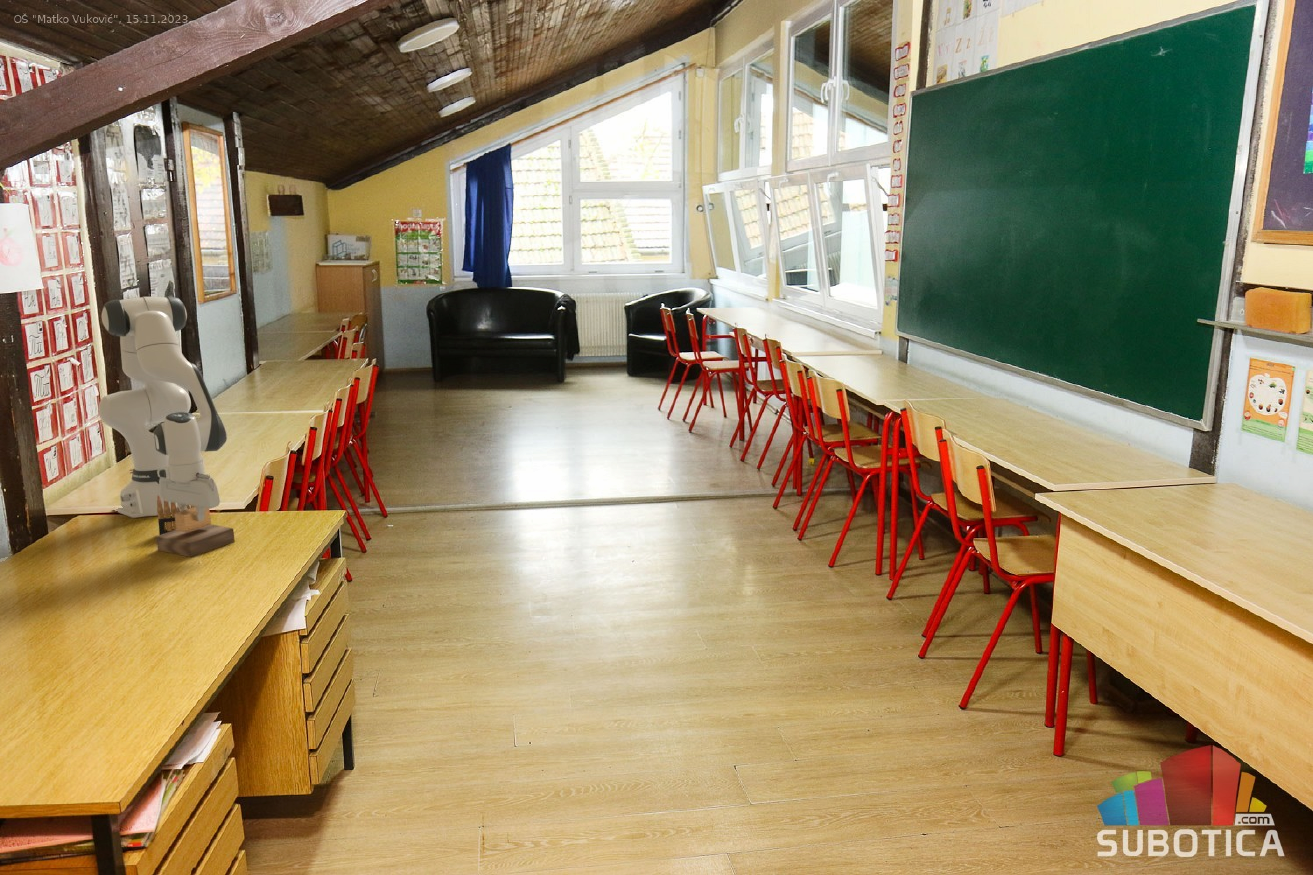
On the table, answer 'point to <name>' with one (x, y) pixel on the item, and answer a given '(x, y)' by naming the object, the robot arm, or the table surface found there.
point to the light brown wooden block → (191, 520)
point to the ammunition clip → (167, 516)
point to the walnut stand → (195, 540)
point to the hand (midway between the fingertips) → (193, 519)
